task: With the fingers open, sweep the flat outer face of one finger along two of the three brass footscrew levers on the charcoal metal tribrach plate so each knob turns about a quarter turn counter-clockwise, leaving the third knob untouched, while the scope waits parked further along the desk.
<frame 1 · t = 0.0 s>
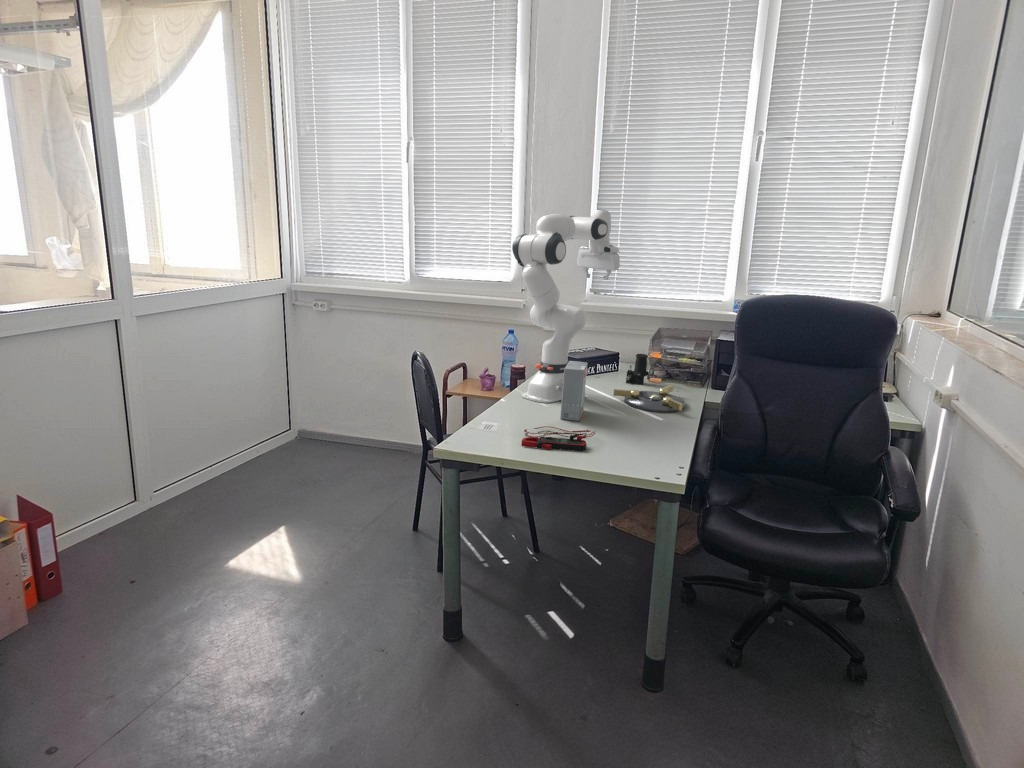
hand: (596, 278, 287), 48 cm above the table, fingers open, 8 cm apart
scope: (636, 383, 300), on the table
hard drive box: (572, 415, 247), on the table
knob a: (666, 389, 276), point 4 cm above the table, hinge at 0.0°
knob c: (672, 403, 256), point 4 cm above the table, hinge at 0.0°
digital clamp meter: (558, 441, 220), on the table
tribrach: (654, 403, 268), on the table
knob b: (626, 392, 268), point 4 cm above the table, hinge at 0.0°
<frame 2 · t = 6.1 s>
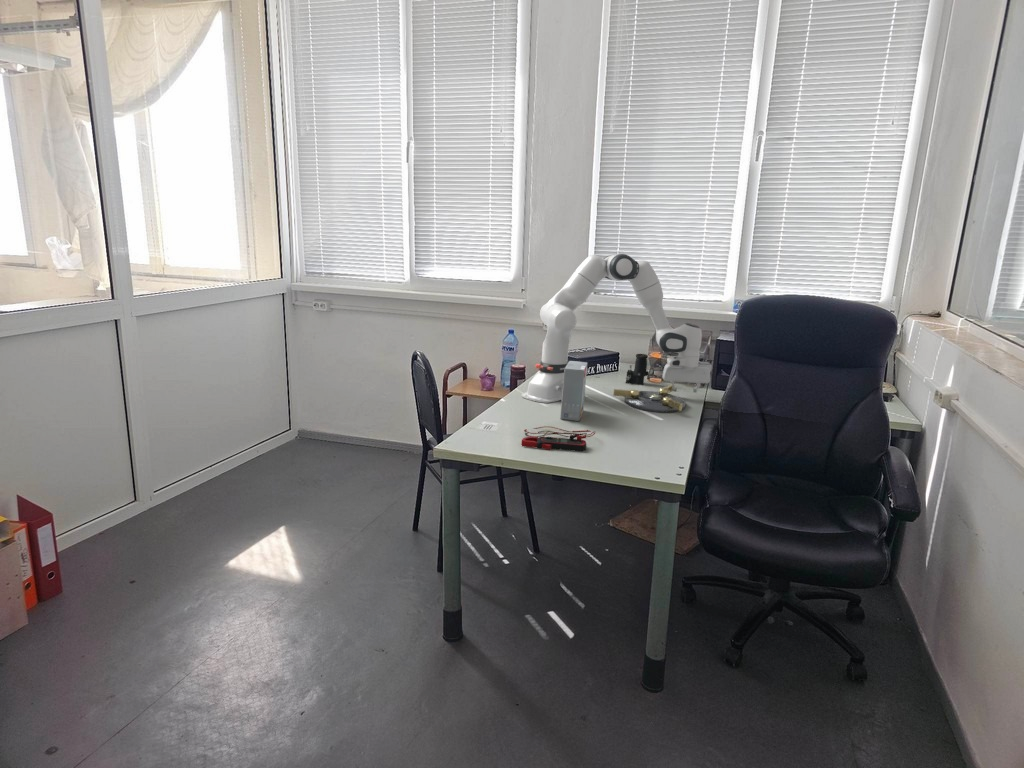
hand: (684, 391, 278), 3 cm above the table, fingers open, 7 cm apart
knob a: (666, 389, 276), point 4 cm above the table, hinge at 0.8°, touching gripper
everything else where it was.
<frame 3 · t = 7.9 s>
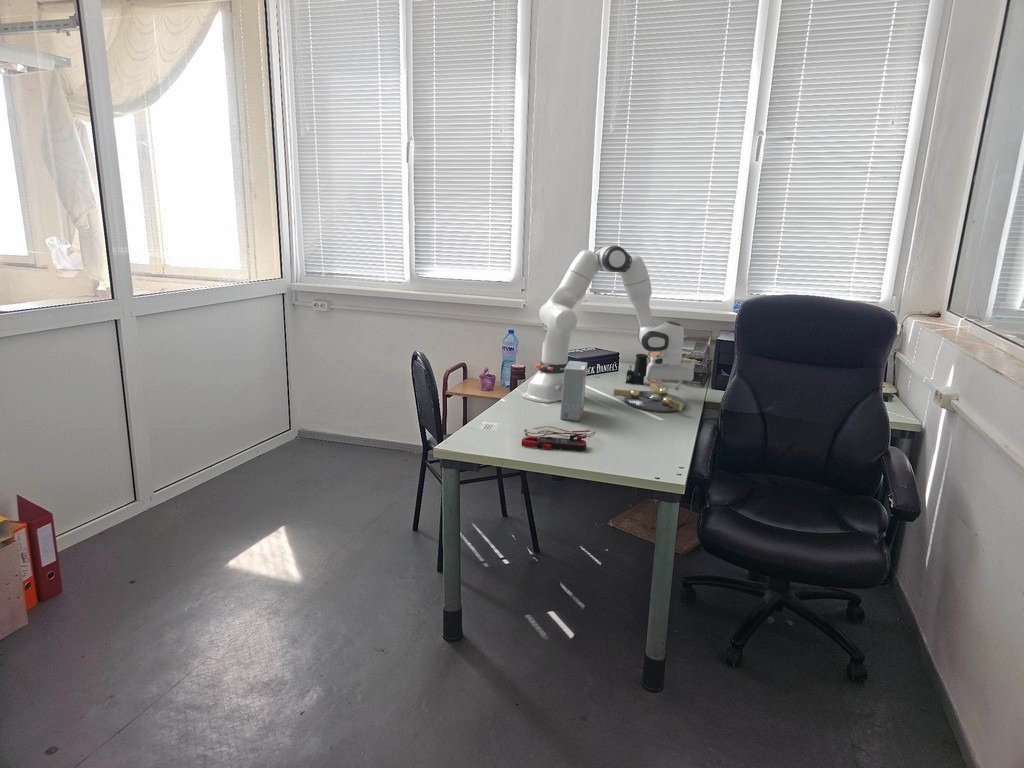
hand: (668, 389, 278), 3 cm above the table, fingers open, 6 cm apart
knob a: (658, 389, 276), point 4 cm above the table, hinge at 60.7°, touching gripper
everything else where it was.
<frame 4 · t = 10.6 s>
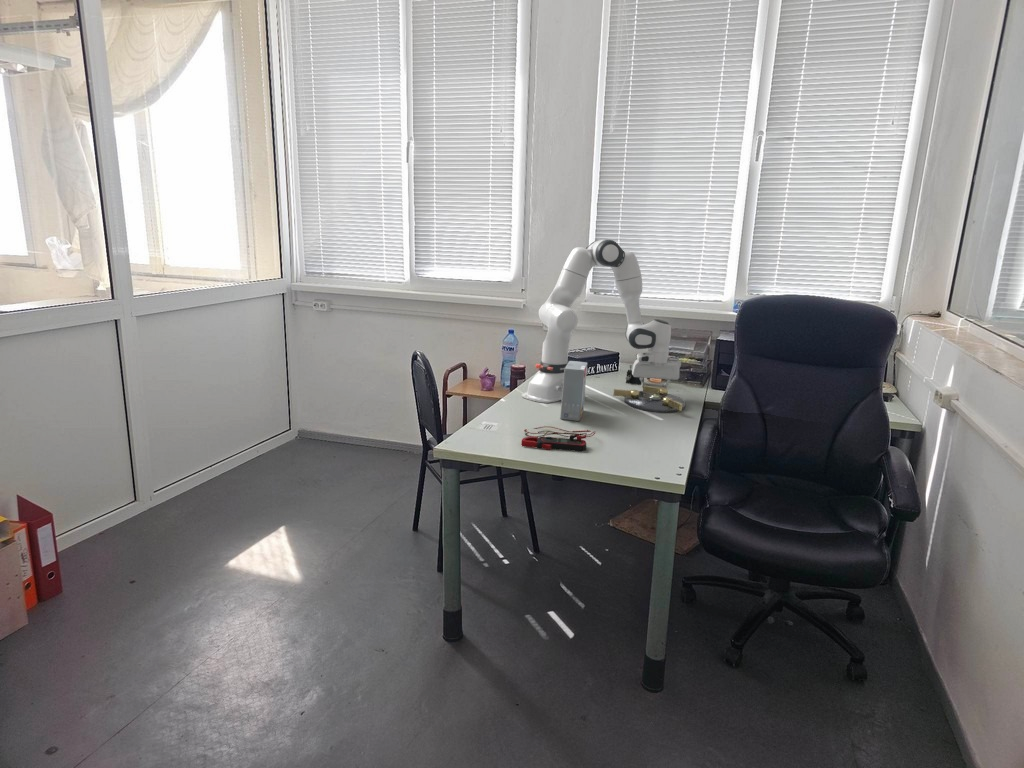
hand: (653, 388, 278), 4 cm above the table, fingers open, 8 cm apart
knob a: (655, 390, 275), point 4 cm above the table, hinge at 103.2°
everything else where it was.
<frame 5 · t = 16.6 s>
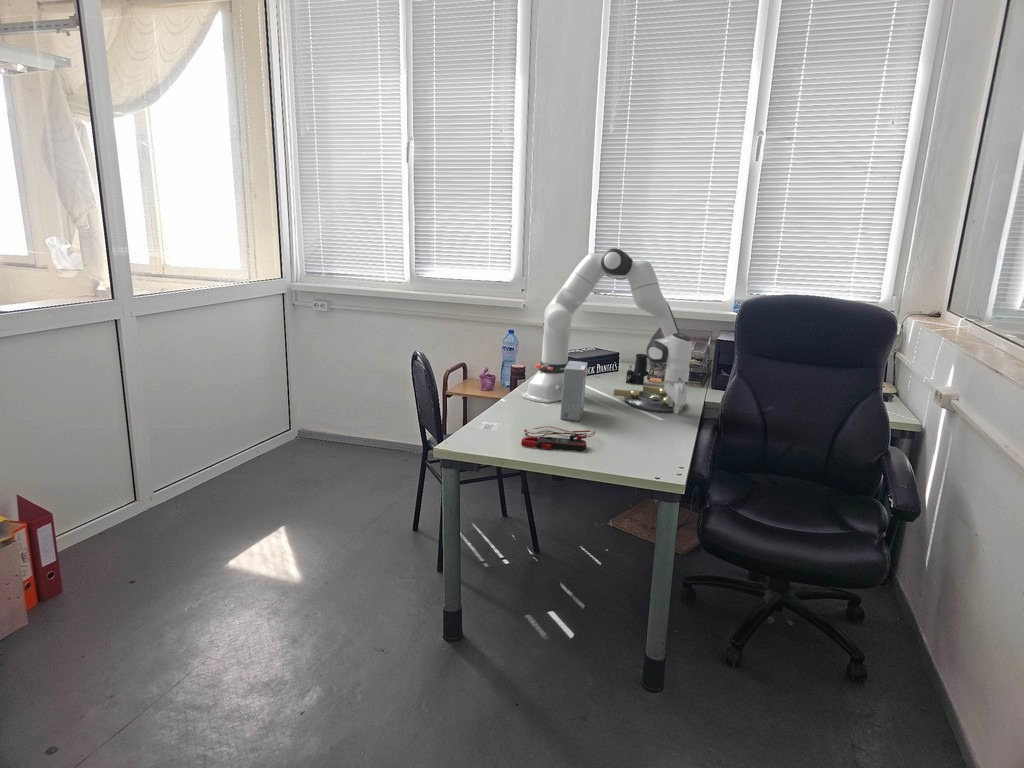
hand: (672, 409, 250), 3 cm above the table, fingers open, 8 cm apart
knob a: (655, 390, 274), point 4 cm above the table, hinge at 104.8°
knob c: (672, 403, 256), point 4 cm above the table, hinge at 0.5°, touching gripper
everything else where it was.
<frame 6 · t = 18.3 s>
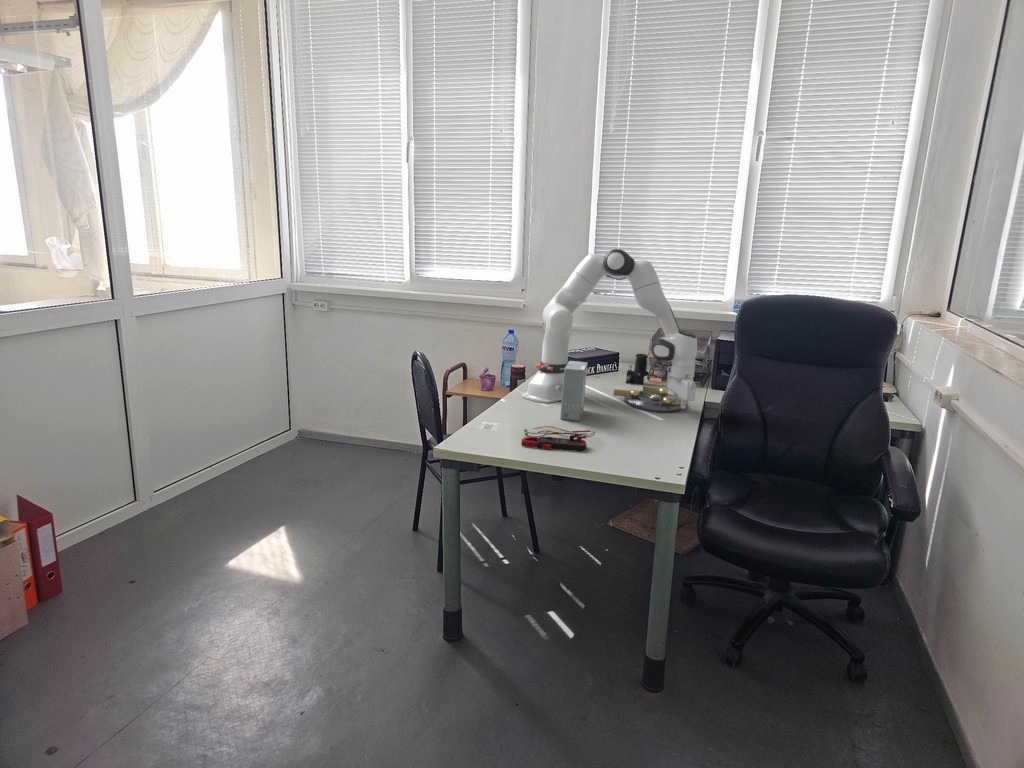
hand: (679, 405, 255), 3 cm above the table, fingers open, 5 cm apart
knob c: (675, 400, 260), point 4 cm above the table, hinge at 76.4°, touching gripper
everything else where it was.
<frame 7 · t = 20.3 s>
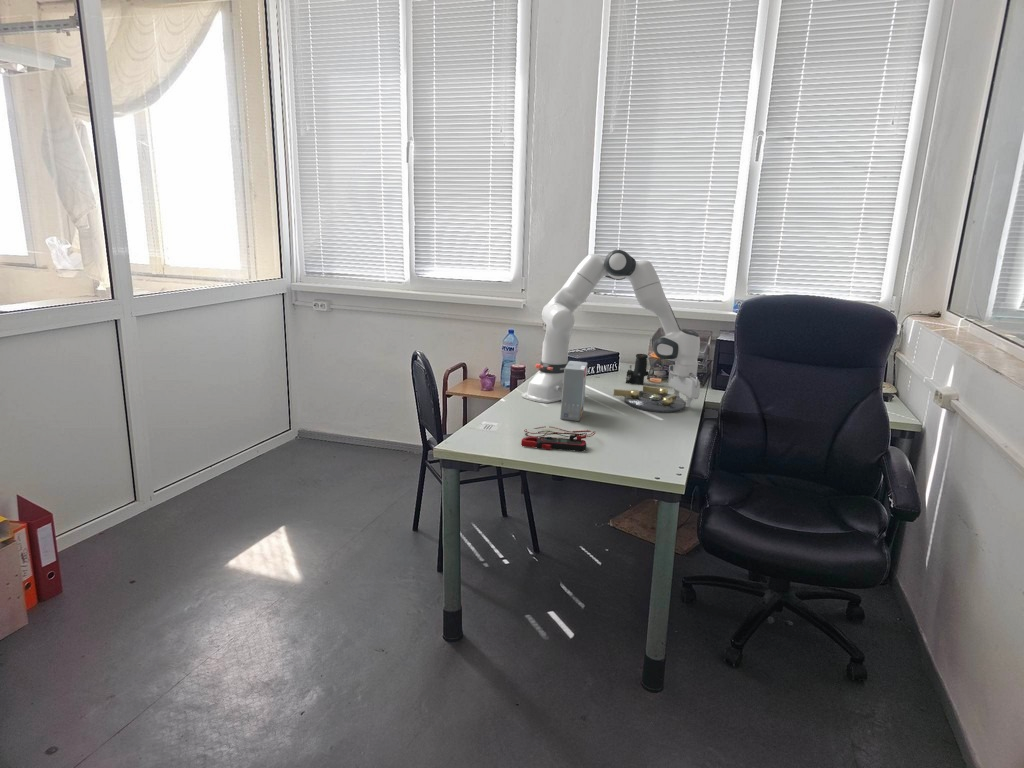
hand: (681, 403, 259), 3 cm above the table, fingers open, 7 cm apart
knob c: (670, 399, 262), point 4 cm above the table, hinge at 122.9°, touching gripper
everything else where it was.
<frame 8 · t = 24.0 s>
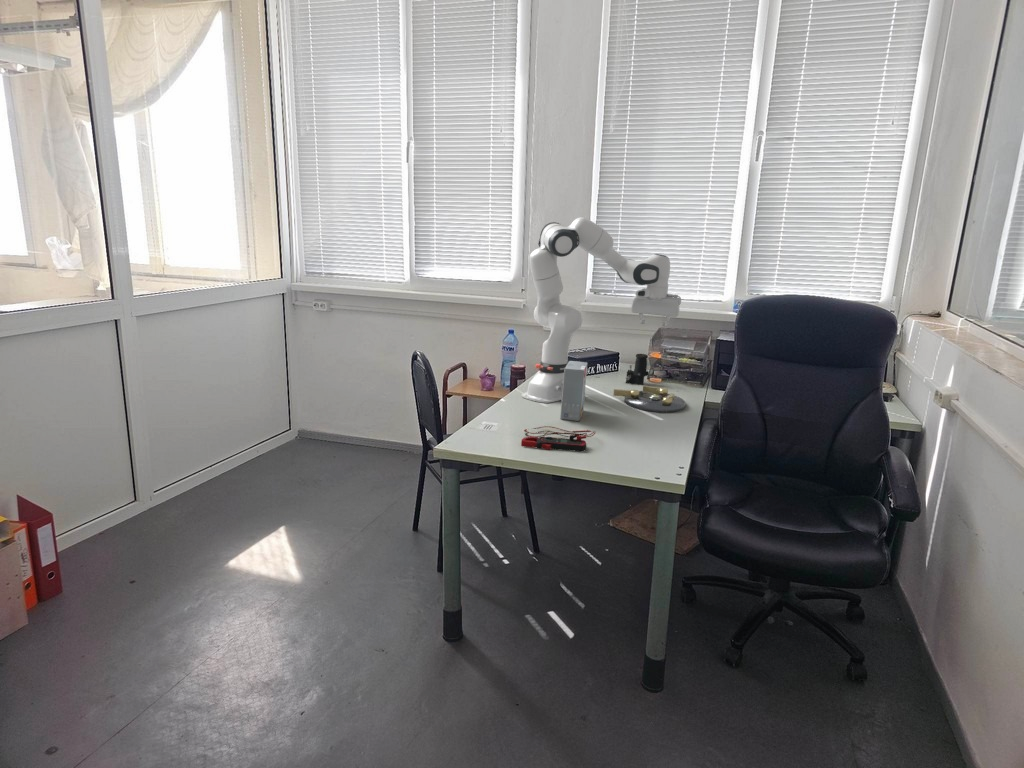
hand: (653, 325, 273), 31 cm above the table, fingers open, 8 cm apart
knob c: (669, 398, 262), point 4 cm above the table, hinge at 129.8°
everything else where it was.
at the end: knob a at +105° (first picture: +0°); knob c at +130° (first picture: +0°); knob b at +0° (first picture: +0°) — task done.
